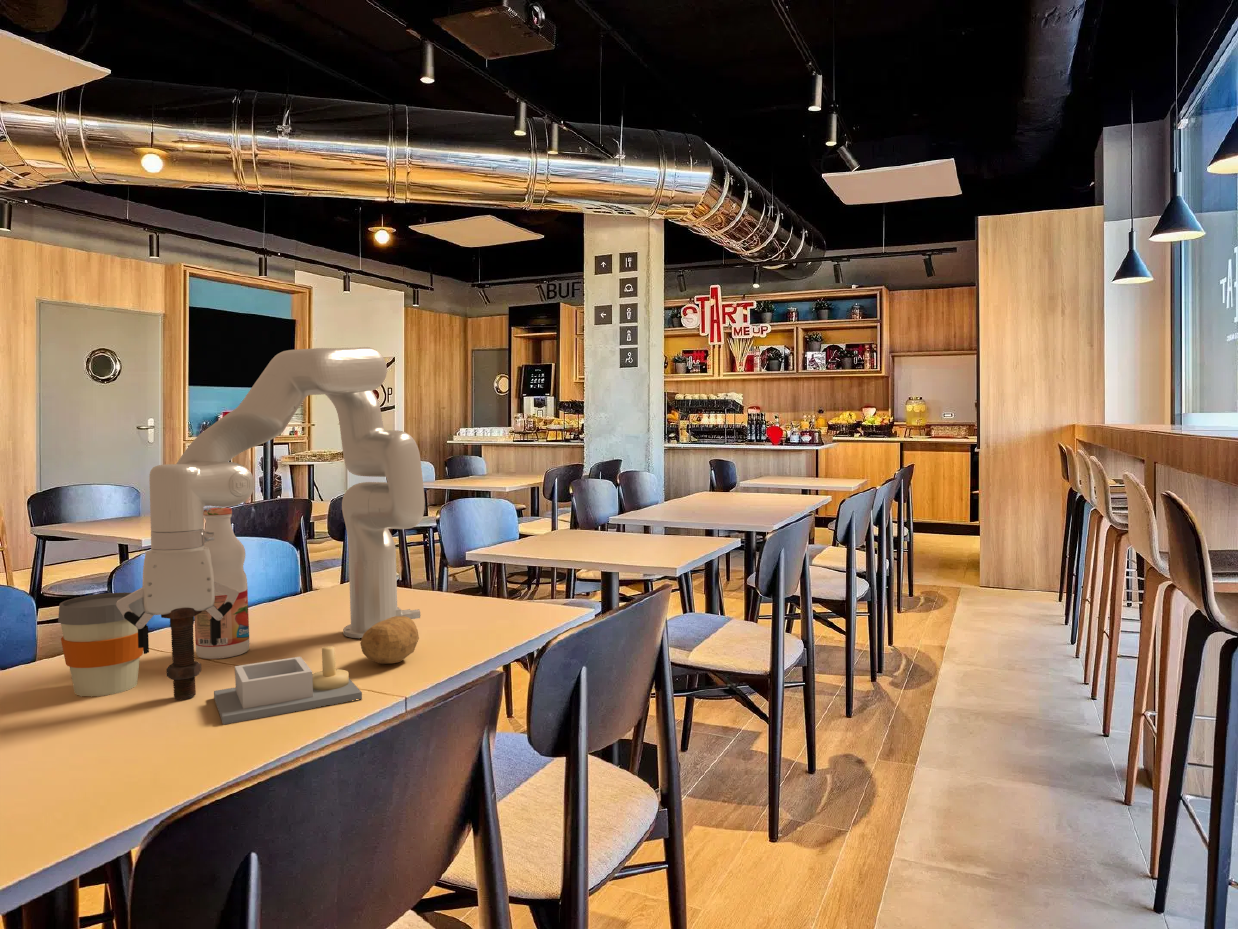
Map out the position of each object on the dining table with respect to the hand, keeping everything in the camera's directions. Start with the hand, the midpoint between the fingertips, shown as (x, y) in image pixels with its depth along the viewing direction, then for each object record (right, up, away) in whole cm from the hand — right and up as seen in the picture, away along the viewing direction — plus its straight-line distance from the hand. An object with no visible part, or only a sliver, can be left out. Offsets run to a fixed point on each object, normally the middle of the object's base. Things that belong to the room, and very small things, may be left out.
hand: (180, 647), depth 133 cm
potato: (+28, -7, +20) cm, 35 cm away
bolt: (0, -8, +1) cm, 8 cm away
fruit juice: (-6, -7, +27) cm, 29 cm away
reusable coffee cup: (-16, -8, +6) cm, 19 cm away
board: (+17, -8, -1) cm, 19 cm away
